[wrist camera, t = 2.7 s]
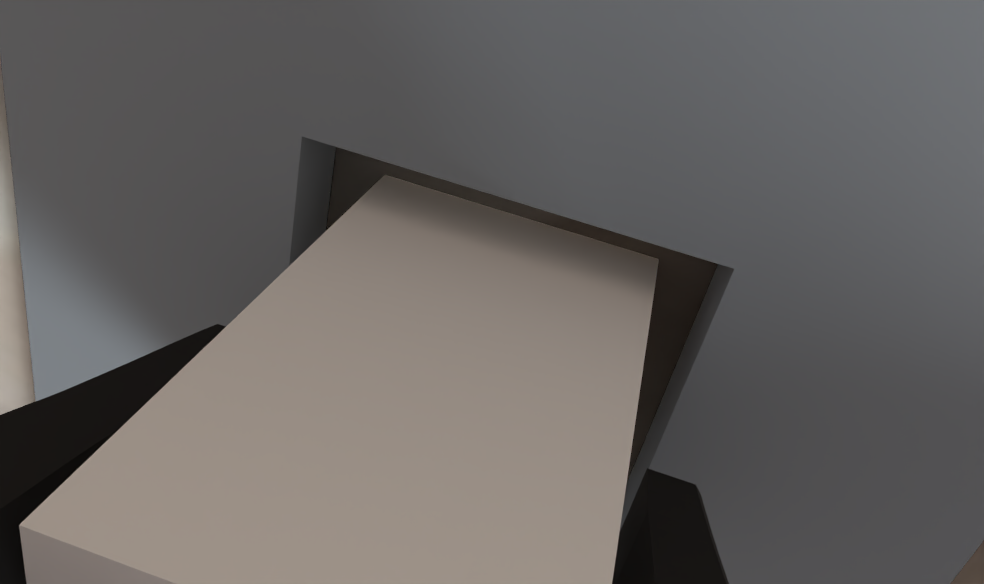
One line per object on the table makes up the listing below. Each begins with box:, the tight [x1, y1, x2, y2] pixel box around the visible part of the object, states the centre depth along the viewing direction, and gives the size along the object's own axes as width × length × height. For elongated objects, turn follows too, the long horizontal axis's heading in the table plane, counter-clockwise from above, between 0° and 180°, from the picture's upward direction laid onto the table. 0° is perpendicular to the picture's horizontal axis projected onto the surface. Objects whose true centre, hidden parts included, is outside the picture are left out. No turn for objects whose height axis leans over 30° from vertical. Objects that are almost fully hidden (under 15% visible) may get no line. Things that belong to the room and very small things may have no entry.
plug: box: [19, 175, 659, 584], centre depth 9 cm, size 4×5×8 cm
